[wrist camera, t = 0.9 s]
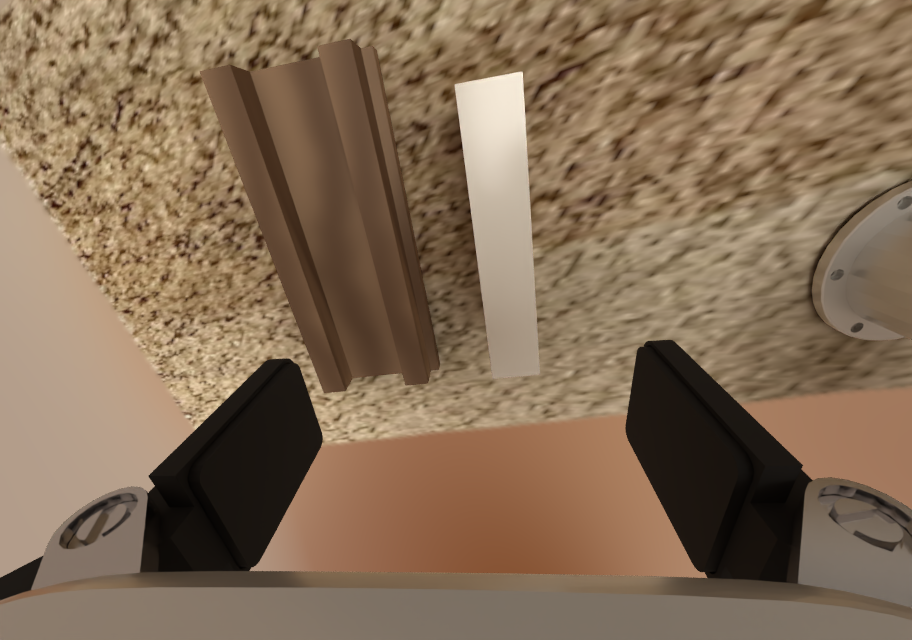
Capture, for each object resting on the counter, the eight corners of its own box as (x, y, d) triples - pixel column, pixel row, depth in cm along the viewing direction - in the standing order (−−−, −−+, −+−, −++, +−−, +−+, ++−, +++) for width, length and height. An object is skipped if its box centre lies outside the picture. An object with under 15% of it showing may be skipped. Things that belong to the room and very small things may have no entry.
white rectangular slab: (506, 99, 23) (522, 71, 15) (522, 314, 30) (540, 374, 22) (462, 108, 24) (454, 84, 15) (488, 318, 30) (492, 379, 22)
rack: (376, 50, 22) (362, 36, 20) (440, 363, 32) (436, 382, 30) (221, 83, 24) (188, 73, 21) (329, 374, 34) (316, 393, 31)
